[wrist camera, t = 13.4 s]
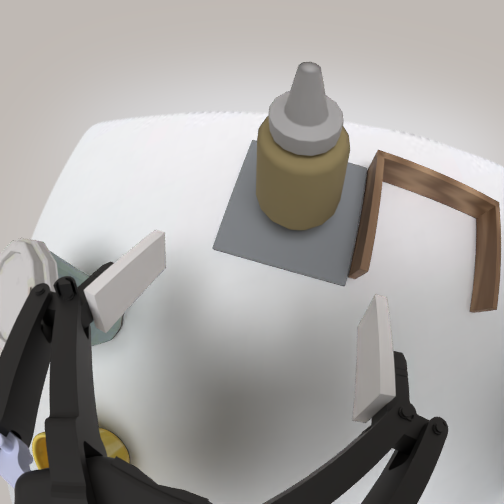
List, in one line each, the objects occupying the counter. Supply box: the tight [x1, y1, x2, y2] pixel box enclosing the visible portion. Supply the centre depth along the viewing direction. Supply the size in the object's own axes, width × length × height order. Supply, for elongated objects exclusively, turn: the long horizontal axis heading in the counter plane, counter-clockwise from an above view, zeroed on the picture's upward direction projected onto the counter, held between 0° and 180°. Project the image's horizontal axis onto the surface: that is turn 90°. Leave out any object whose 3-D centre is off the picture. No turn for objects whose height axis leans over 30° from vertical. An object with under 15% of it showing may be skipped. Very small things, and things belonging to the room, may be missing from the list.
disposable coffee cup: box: [0, 238, 122, 351], centre depth 21 cm, size 11×11×15 cm
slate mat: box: [213, 140, 367, 286], centre depth 29 cm, size 14×14×1 cm
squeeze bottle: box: [256, 62, 350, 230], centre depth 20 cm, size 8×8×18 cm
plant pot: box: [32, 428, 130, 469], centre depth 19 cm, size 10×10×10 cm
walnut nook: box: [348, 150, 501, 313], centre depth 25 cm, size 18×13×4 cm
